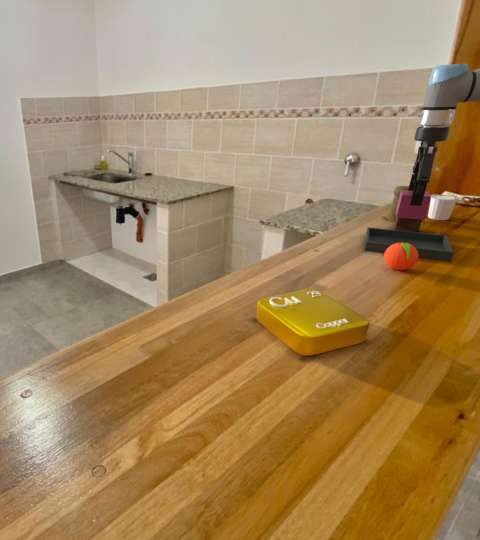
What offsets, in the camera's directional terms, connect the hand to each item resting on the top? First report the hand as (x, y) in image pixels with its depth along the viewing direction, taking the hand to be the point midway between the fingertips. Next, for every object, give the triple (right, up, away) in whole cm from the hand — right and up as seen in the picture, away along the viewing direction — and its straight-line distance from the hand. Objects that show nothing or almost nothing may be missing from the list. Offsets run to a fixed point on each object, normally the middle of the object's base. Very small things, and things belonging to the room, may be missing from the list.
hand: (413, 199), depth 117 cm
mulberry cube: (0, -4, +2) cm, 5 cm away
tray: (-9, -15, -8) cm, 19 cm away
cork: (+6, -4, +16) cm, 17 cm away
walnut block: (+1, -9, +4) cm, 10 cm away
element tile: (-53, -33, -41) cm, 75 cm away
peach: (-20, -22, -20) cm, 36 cm away
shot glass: (+19, -4, +14) cm, 24 cm away
